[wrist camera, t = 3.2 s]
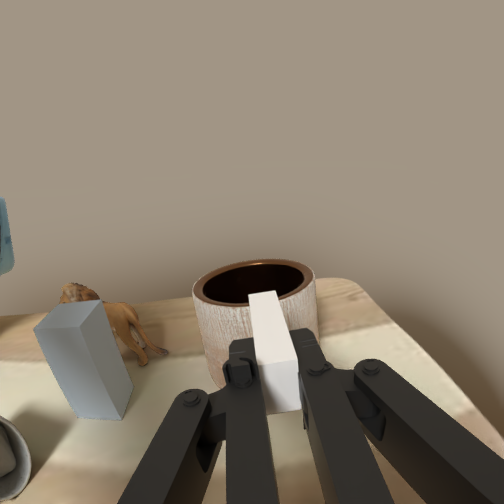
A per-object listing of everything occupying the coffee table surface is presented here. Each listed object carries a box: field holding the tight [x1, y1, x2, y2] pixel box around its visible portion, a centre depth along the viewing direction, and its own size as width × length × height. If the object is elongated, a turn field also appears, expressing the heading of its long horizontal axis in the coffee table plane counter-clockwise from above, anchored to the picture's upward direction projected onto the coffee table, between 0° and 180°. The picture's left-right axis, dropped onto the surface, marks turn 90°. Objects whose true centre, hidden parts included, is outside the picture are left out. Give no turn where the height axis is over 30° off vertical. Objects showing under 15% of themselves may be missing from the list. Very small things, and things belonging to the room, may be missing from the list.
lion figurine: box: [59, 283, 168, 366], centre depth 34 cm, size 15×5×9 cm, turn 77°
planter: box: [192, 259, 319, 389], centre depth 29 cm, size 11×11×10 cm
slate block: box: [33, 300, 134, 420], centre depth 24 cm, size 5×5×10 cm
